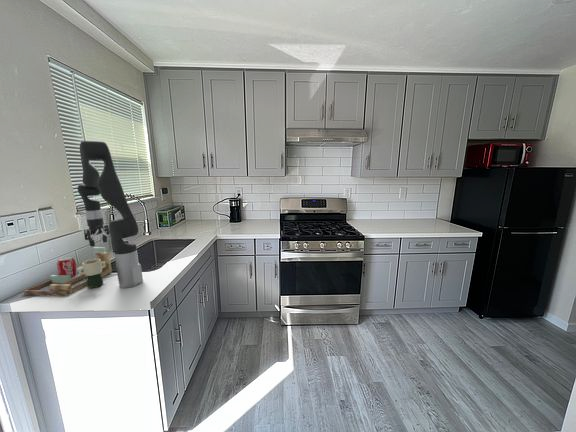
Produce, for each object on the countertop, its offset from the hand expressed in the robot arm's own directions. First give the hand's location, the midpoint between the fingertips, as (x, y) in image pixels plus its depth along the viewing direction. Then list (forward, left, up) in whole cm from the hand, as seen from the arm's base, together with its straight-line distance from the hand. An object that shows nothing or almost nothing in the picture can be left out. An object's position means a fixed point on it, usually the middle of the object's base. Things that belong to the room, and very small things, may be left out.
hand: (99, 244), depth 141 cm
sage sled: (0, +13, -13) cm, 19 cm away
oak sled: (-10, +22, -13) cm, 28 cm away
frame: (-5, +24, -13) cm, 28 cm away
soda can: (0, +20, -14) cm, 24 cm away
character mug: (-20, +26, -14) cm, 35 cm away
